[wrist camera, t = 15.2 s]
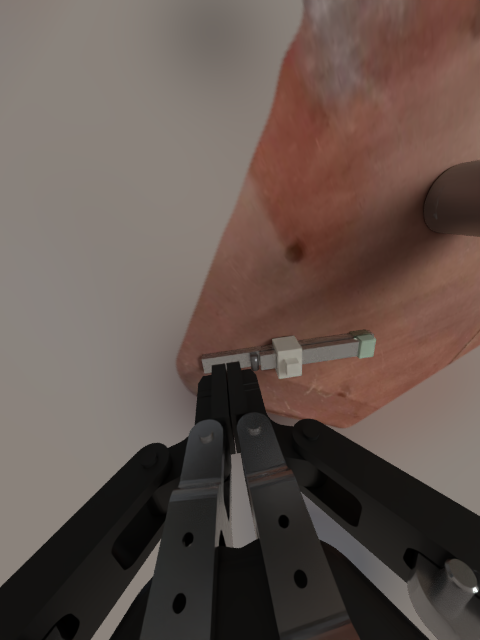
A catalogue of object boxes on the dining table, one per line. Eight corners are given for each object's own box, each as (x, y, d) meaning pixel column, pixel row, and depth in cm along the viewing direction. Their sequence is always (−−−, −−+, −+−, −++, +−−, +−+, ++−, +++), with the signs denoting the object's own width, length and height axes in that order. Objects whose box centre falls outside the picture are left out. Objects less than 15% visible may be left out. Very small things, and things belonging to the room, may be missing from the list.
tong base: (205, 369, 42) (204, 380, 40) (201, 353, 41) (200, 363, 38) (366, 345, 44) (377, 354, 41) (369, 328, 42) (380, 337, 40)
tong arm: (260, 367, 41) (261, 373, 40) (258, 350, 40) (260, 355, 38) (367, 351, 42) (373, 356, 41) (370, 334, 41) (376, 339, 39)
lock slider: (273, 364, 43) (281, 385, 38) (271, 338, 41) (280, 357, 36) (294, 361, 43) (305, 381, 38) (293, 335, 41) (305, 353, 36)
